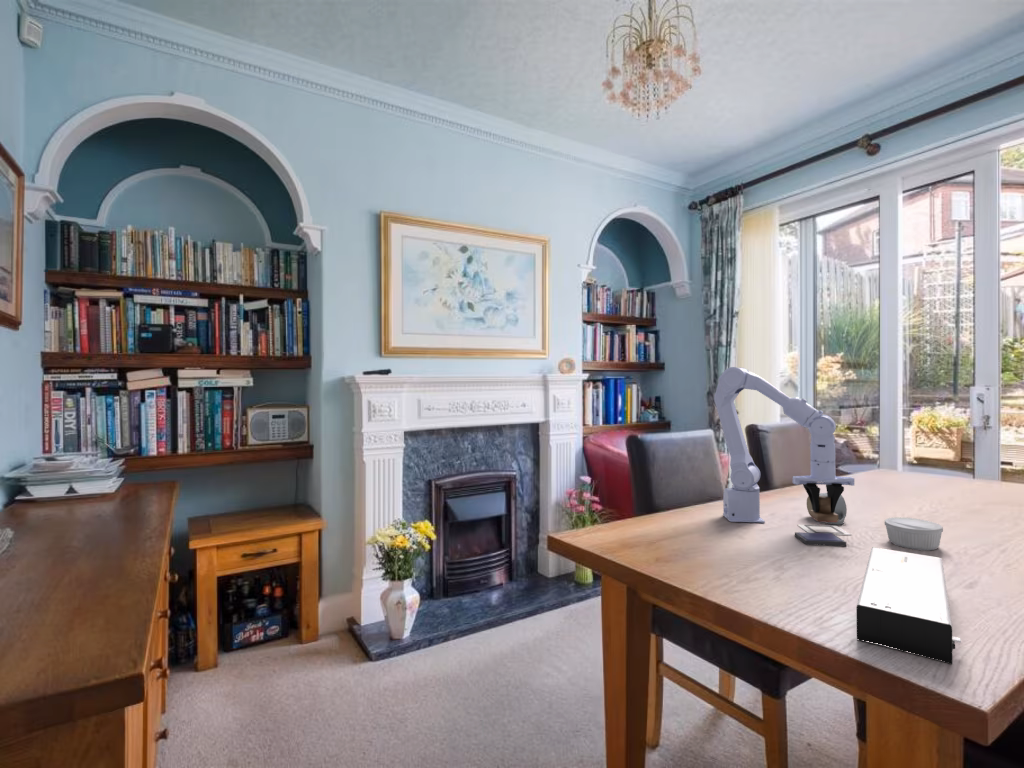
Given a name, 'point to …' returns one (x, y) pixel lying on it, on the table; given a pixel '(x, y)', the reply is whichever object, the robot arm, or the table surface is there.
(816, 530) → the paper
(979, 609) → the table surface
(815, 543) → the ink pad
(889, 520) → the ramekin
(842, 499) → the ceramic mug
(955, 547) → the table surface
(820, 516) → the stamp
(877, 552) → the white and black box
